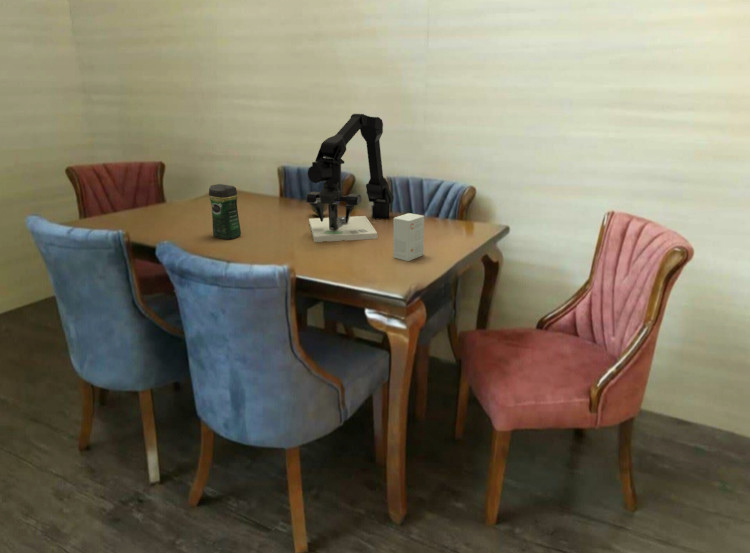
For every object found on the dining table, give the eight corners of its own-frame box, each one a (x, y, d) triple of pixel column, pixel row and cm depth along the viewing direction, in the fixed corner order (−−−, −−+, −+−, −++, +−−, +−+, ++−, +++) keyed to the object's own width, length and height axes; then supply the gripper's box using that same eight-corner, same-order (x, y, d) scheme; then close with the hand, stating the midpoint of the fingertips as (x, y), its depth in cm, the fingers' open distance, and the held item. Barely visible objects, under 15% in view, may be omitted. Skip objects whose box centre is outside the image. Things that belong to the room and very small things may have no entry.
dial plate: (365, 220, 224) (365, 215, 223) (377, 238, 201) (377, 232, 200) (309, 223, 220) (308, 218, 219) (314, 242, 197) (314, 236, 196)
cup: (330, 213, 235) (329, 194, 232) (326, 218, 228) (326, 198, 225) (312, 213, 235) (311, 194, 233) (308, 218, 228) (307, 198, 226)
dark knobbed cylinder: (339, 220, 215) (339, 196, 212) (350, 220, 214) (349, 197, 210) (326, 229, 202) (325, 204, 199) (336, 230, 201) (336, 205, 198)
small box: (408, 251, 187) (408, 212, 182) (423, 255, 183) (424, 215, 178) (392, 257, 181) (392, 217, 176) (408, 261, 177) (409, 220, 172)
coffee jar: (245, 235, 205) (240, 184, 198) (228, 241, 199) (223, 188, 192) (226, 231, 210) (221, 181, 204) (209, 236, 204) (203, 185, 198)
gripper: (298, 181, 192) (301, 226, 197) (352, 183, 187) (353, 229, 193) (310, 175, 202) (312, 218, 207) (361, 177, 198) (362, 221, 203)
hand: (334, 222), depth 202 cm, fingers open, 9 cm apart
